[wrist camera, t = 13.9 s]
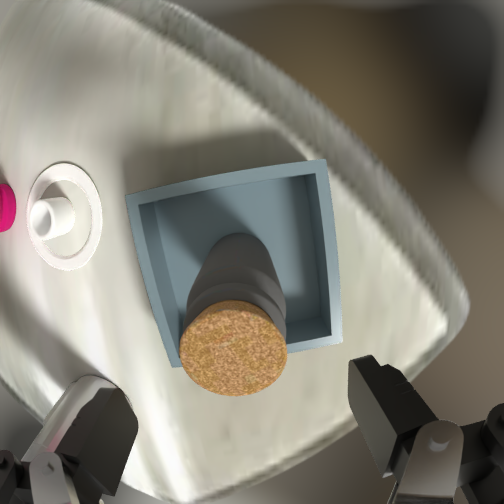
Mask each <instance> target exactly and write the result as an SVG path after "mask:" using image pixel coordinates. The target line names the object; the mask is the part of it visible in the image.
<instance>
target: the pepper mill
mask: <svg viewBox="0 0 504 504" xmlns="http://www.w3.org/2000/svg"><path fill="white" fill-rule="evenodd" d="M15 214H16V201H15V196H14V193H13V191H12V189H11V188H10V187H9V186H8V185H6V184H0V232H3V231H6V230H8V229H9V228H10V227H11V226H12V224H13V222H14V219H15Z"/></svg>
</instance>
